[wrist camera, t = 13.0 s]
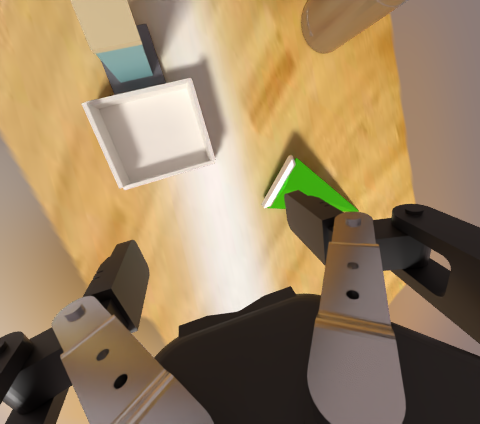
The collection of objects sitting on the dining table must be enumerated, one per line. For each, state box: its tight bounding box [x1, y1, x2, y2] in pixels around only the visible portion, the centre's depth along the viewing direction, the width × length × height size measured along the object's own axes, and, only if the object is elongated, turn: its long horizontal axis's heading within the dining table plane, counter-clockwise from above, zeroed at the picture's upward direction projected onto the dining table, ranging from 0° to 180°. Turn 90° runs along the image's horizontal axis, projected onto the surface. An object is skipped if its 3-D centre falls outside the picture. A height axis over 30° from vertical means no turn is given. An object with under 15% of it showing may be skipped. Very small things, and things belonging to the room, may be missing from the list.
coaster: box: [101, 24, 166, 95], centre depth 34 cm, size 8×8×1 cm
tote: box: [81, 78, 216, 190], centre depth 36 cm, size 15×13×6 cm
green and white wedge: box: [261, 155, 359, 212], centre depth 48 cm, size 11×5×25 cm
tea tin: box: [70, 0, 153, 83], centre depth 29 cm, size 5×5×12 cm
